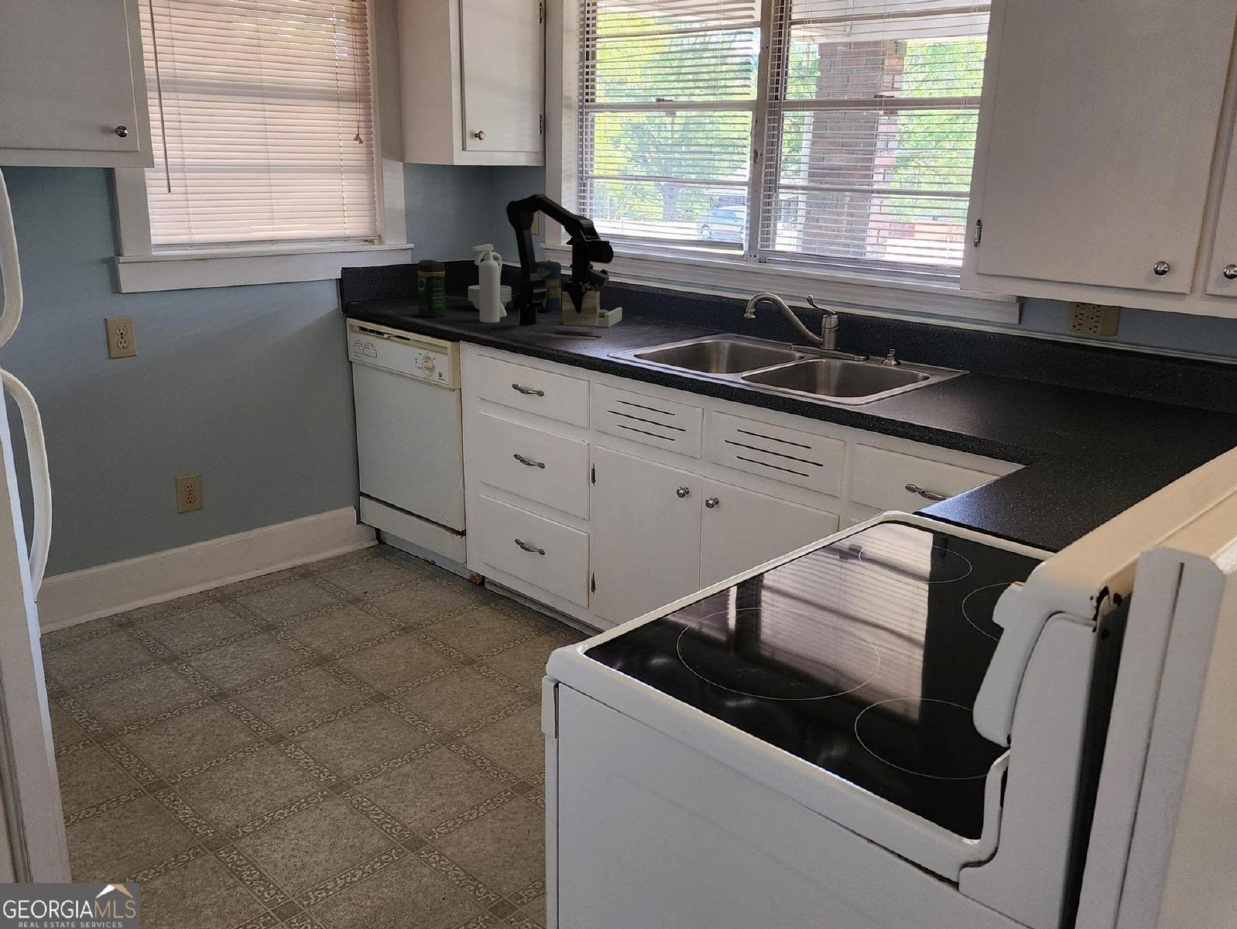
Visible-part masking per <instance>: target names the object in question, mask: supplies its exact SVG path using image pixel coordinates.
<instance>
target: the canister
mask: <svg viewBox="0 0 1237 929" xmlns="http://www.w3.org/2000/svg"><path fill="white" fill-rule="evenodd" d="M536 267H537V273H538V275H539V277H540V278H541V279H545V281H546V289H547V292H546V298H545V299H544V301H543V305H542V307H537V312H538V311H540V312H551V311H555V310H556V311H558V310H560V309H561V308H562V306H561V305H562V304H561V302H562V264H561V263H560V262H558V261H552V260H551V259H549V258H547V259H546V260H544V261H543V260H542V261H541V260H540V261H536Z"/></svg>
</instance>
